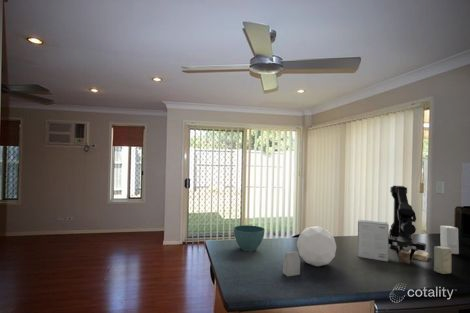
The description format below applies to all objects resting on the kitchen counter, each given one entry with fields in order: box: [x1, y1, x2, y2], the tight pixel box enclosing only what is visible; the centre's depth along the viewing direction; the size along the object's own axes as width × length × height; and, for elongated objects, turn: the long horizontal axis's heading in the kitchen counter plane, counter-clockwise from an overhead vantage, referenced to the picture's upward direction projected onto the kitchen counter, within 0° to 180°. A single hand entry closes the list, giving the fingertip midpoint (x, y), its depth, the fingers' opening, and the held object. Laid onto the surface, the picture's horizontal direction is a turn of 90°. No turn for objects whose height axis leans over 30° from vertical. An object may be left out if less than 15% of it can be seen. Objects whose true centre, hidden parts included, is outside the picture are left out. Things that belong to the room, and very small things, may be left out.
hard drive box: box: [357, 219, 390, 262], centre depth 157 cm, size 16×8×20 cm, turn 64°
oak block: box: [407, 248, 430, 262], centre depth 160 cm, size 9×9×3 cm
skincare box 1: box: [439, 225, 460, 255], centre depth 173 cm, size 8×7×16 cm
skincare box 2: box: [433, 245, 452, 275], centre depth 138 cm, size 6×4×12 cm
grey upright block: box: [282, 250, 301, 277], centre depth 129 cm, size 4×7×10 cm, turn 115°
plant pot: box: [233, 224, 265, 252], centre depth 164 cm, size 18×18×12 cm
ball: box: [296, 225, 337, 267], centre depth 144 cm, size 19×20×20 cm
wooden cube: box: [398, 249, 412, 265], centre depth 152 cm, size 5×5×5 cm
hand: (404, 259), depth 152 cm, fingers closed on wooden cube, 5 cm apart
